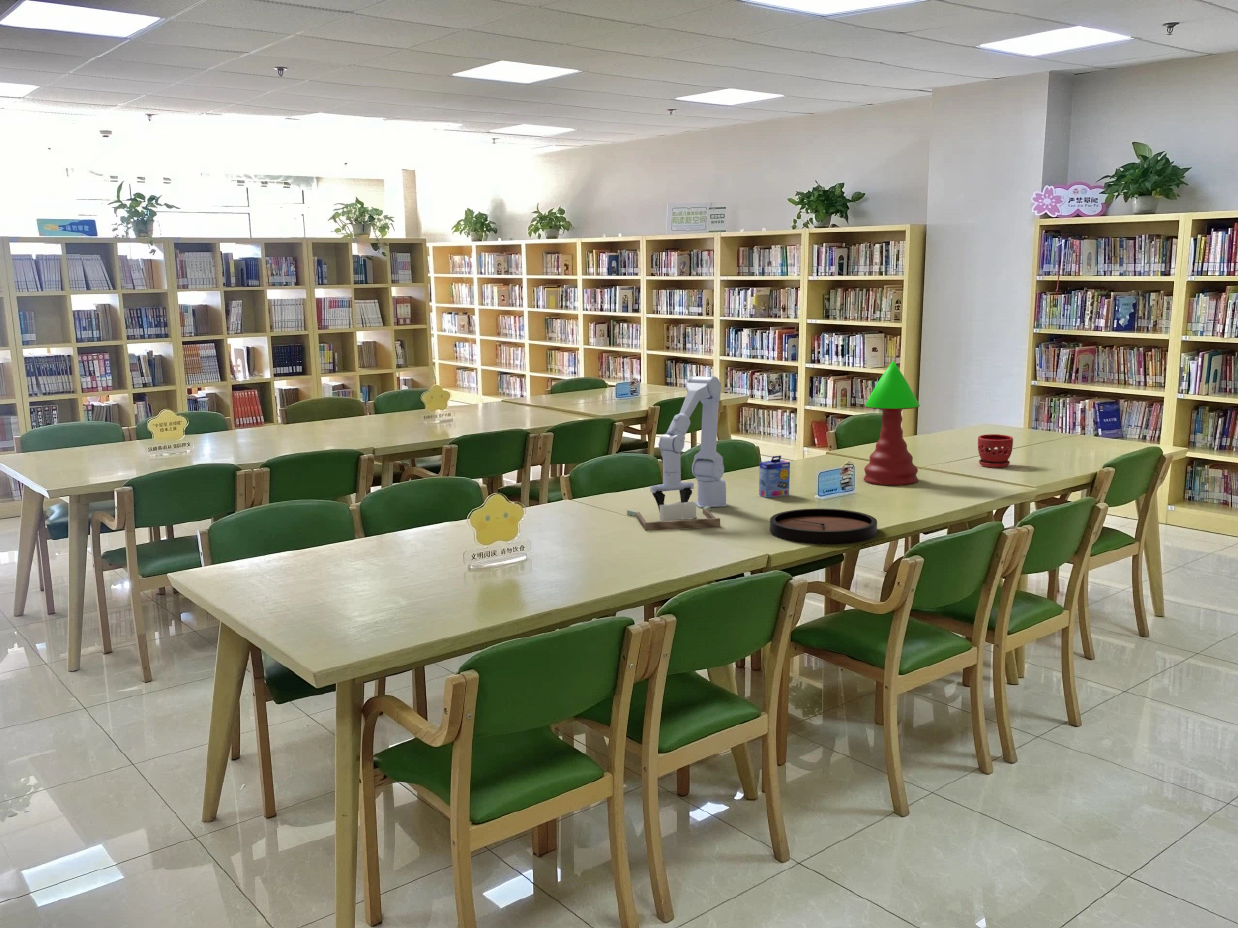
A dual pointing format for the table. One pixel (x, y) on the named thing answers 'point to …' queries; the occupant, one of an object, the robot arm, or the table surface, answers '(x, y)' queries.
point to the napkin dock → (678, 522)
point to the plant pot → (995, 450)
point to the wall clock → (823, 526)
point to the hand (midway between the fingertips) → (672, 512)
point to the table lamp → (891, 431)
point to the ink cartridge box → (774, 478)
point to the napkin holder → (677, 511)
